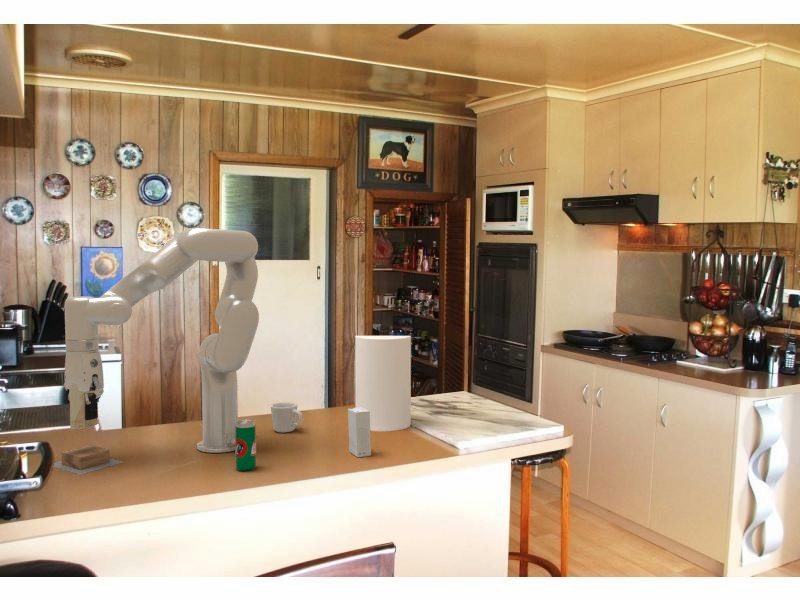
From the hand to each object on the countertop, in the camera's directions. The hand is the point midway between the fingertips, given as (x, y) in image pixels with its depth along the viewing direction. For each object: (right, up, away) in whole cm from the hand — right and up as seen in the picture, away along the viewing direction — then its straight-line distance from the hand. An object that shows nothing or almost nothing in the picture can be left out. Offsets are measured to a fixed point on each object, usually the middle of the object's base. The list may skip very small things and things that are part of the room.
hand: (83, 416), depth 177 cm
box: (0, -3, 0) cm, 3 cm away
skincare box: (+69, -12, +12) cm, 71 cm away
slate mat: (0, -13, +1) cm, 13 cm away
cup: (+46, -11, +36) cm, 59 cm away
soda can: (+41, -13, -1) cm, 43 cm away
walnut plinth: (0, -12, +1) cm, 12 cm away
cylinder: (+74, -10, +44) cm, 87 cm away
